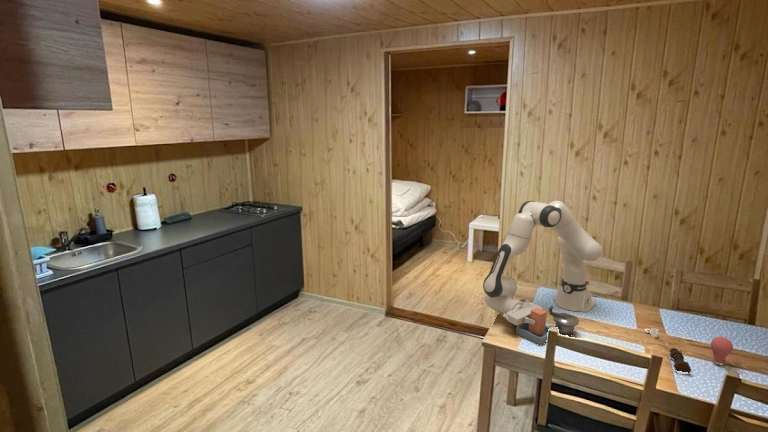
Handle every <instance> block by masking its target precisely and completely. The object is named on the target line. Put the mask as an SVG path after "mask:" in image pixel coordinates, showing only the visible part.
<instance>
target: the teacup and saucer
mask: <svg viewBox="0 0 768 432" xmlns="http://www.w3.org/2000/svg"><path fill="white" fill-rule="evenodd" d="M643 330H645V331H646V332H649V331H647V330H650V334H651V335H653V336H656V338H657V337H659V336H658V335H659V333H660V330H659V329H658V328H655V327H651V328H647V327H646V328H644V329H643ZM645 331H644V332H645ZM650 334H649V335H650ZM651 335H650V336H651Z"/></svg>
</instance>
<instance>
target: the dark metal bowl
mask: <svg viewBox="0 0 768 432" xmlns="http://www.w3.org/2000/svg"><path fill="white" fill-rule="evenodd" d="M553 309H554V306H553V305H550V307H549V308H548V313H549V315H551V316H552V320H553V321H554V322H555V327H558V329H559V333H560V334H562V335H568V336H570V337H572V336H571V335H573V336H574V333H575V331H574V330H575V327H576V326H578V325H579V322H580V320H579V317H577V316H575V315H572V314H569V313H568V312H567V313H566V312H555V311H553ZM555 327H554V328H555Z"/></svg>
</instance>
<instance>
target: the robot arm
mask: <svg viewBox="0 0 768 432" xmlns="http://www.w3.org/2000/svg"><path fill="white" fill-rule="evenodd" d="M536 226H541V227H543V228H544V227H545V228H553V229H554V231H555V232H556V234H557V235H558V237H557V239H556V243H557V246H558V248H559V249H560V252H561V255H562V259H563V273H562V279H561V281H560V285H559V286H558V288H557V293H556V296H555V297H554V298H553V300H554V301H555V303H556V305H557V306H558V307H560V308H561V309H564V310H566V311H567V310H568V311H571V312H572V311H573V312H582V313H588V312H589V311H590V310H591V309H592V308H594V306H596V304H597V302H596V301H595V300H593V298H592V296H593V293H592V292H591V291H590V290H589V289H588V288H587V286H589V285H590V281H588V280H587V276H588V275H587V274H588V266H587V265H586V264H585V262H584V261H589V262H595V261H598V260H599V259H600V258H601V256H602V254H603V247H602V245H601V244H600V243H598V242H597V241H596V240H595V239H593V237H591V235H590V234H589V233H588V232H587V231H586V230H585V229H584V228H582V226H581V225H580V223H579V222H578V220H577V219H576V218H575V216H574V215H573V213H572V211H571V210H570V208H569V207H568V206H567V205H566V204H565V203H564V202H562V201H560V200H553V201H551V202H549V203H545V202H541V201H534V200H527V201H525V202H523V203H522V204H521V206H520V207H519V211H518V213H516V214H515V215H514V216H513V219H512V220H511V222H510V225H509V227H508V230H507V233H506V237H505V239H504V240H503V243H502V244H501V246H500V247H499V249H498V250H497V253H496V255H495V258H494V260H493V263H492V264H491V267H490V270H489V272H488V274H487V276H486V277H485V278H484V280H483V284H482V288H483V291H484V293H485V294H484V299H483V300H484V303H485V304H486V306H487V307H489V308H490V309H492V310H494V311H496V312H497V313H501V314H502V317H503V318H504V319H505V320H506V321H507V322H509V323H511V324H513V325H515V326H521V325H523V324H525V323H531V324H533V325H534V324H536V320H534V319H530V314H531V310H533V309H535V308H539V309H542V310H543V307H542V306H540V305H538V304H536V303H533V302H531V301H529V300H528V299H525V298H522V299H515V298H514V296H515V294H516V292H517V282H516V280H515V279H514V278H513V277H512V276H507V275H504V273H505V271H506V268H507V266H508V263H510V261H511V260H512V259H513V258H515V257H516V256H520V255H522V254H523V253H525V252H526V251H527V249H528V247H529V246H530V243H531V239H532V235H533V232H534V231H533V230H534V228H536ZM503 275H504V276H503Z"/></svg>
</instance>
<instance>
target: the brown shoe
mask: <svg viewBox="0 0 768 432" xmlns="http://www.w3.org/2000/svg"><path fill="white" fill-rule="evenodd" d="M669 357H670V358H673V359H674V361H673V362H674V364H673V365H672V366H673V367H674V370H675V371H676V370H677V371H682V372H688V373H689V374H691V372H692V369H691V366H690V364H689V363H688V361H685V357H684V354H683V353H682V351H681V350H679V349H677V348H675V347H671V348H670V350H669Z"/></svg>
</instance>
